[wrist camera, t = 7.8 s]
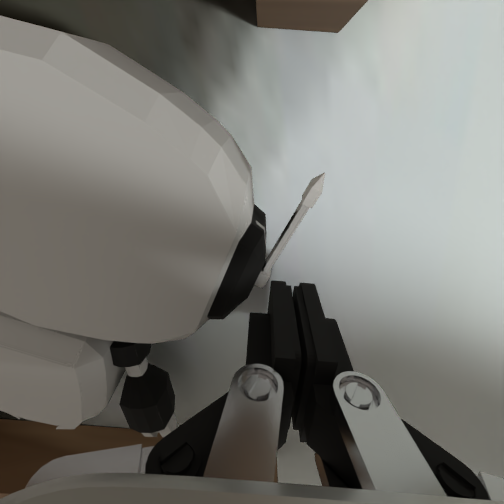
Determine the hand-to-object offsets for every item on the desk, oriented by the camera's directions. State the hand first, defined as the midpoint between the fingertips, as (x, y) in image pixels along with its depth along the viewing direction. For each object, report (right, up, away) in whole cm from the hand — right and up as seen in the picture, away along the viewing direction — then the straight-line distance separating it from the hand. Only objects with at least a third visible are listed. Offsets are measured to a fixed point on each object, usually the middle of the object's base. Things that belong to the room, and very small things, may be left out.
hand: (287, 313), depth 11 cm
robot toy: (-8, +2, +1) cm, 8 cm away
